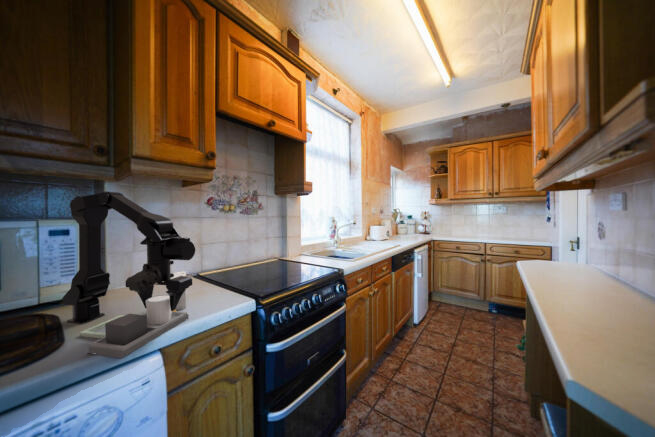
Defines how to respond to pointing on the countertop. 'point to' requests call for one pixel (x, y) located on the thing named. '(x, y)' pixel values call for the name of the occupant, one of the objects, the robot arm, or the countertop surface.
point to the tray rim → (90, 332)
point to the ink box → (182, 300)
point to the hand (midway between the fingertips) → (160, 309)
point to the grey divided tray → (132, 334)
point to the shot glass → (158, 309)
